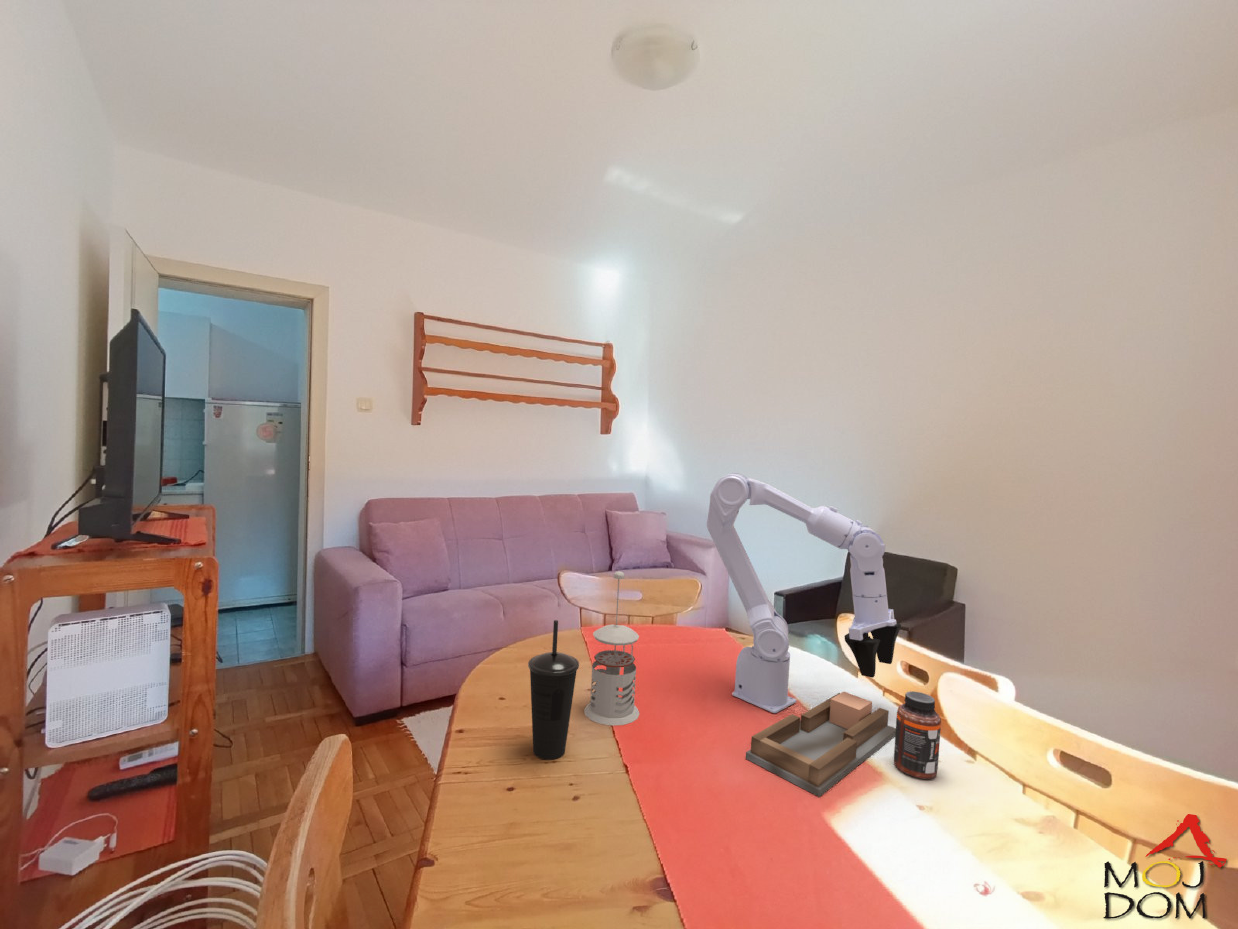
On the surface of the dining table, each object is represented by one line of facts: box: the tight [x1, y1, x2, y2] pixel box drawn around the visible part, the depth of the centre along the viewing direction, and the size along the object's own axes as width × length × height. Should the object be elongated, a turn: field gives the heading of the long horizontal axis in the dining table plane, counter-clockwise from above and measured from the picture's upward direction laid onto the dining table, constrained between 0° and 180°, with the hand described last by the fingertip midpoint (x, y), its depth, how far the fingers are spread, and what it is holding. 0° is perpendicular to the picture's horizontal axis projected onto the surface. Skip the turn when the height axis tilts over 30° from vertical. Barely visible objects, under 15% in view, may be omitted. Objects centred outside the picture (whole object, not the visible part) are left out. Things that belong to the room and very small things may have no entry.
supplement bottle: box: [893, 690, 942, 780], centre depth 85 cm, size 6×6×11 cm
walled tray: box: [745, 692, 896, 798], centre depth 91 cm, size 12×28×4 cm, turn 133°
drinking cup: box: [527, 619, 580, 761], centre depth 85 cm, size 8×8×20 cm
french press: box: [583, 570, 640, 727], centre depth 99 cm, size 10×12×25 cm
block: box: [829, 691, 873, 729], centre depth 97 cm, size 5×5×4 cm
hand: (876, 669), depth 101 cm, fingers open, 7 cm apart
